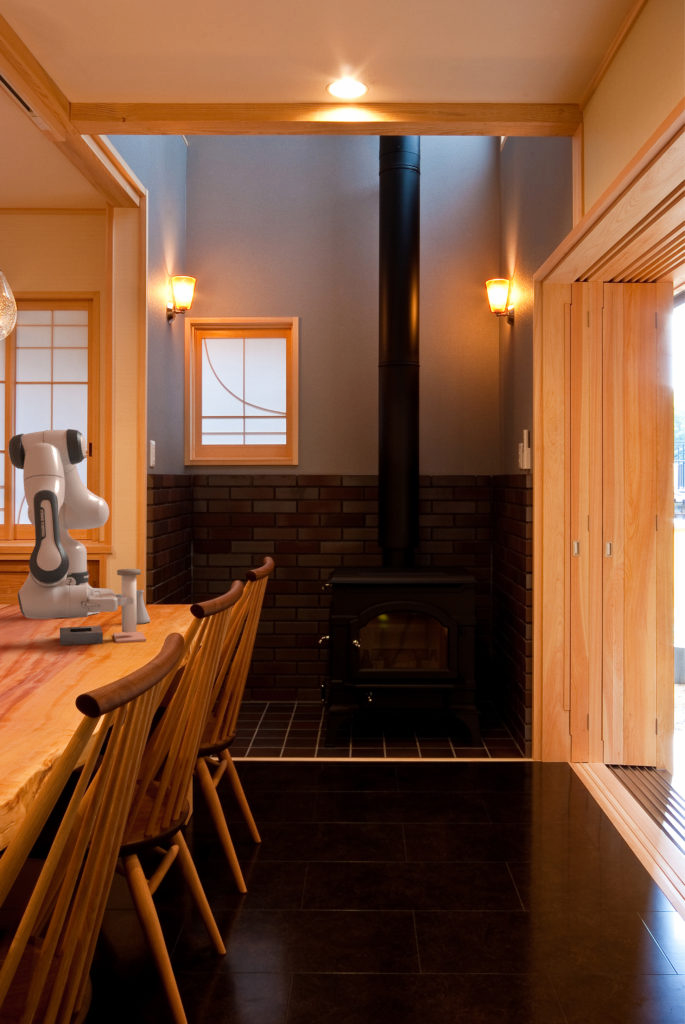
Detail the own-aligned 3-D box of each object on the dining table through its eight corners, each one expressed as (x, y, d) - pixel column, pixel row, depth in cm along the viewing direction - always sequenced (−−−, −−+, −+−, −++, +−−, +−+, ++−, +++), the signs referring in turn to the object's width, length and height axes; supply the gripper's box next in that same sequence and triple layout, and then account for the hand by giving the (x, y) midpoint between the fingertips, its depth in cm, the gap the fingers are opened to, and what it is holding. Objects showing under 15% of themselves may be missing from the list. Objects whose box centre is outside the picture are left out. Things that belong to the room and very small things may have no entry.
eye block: (59, 638, 243) (59, 627, 243) (100, 636, 247) (100, 625, 247) (60, 645, 233) (60, 634, 233) (102, 643, 236) (102, 632, 236)
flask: (145, 624, 266) (144, 592, 266) (122, 624, 267) (122, 591, 267) (154, 621, 273) (154, 589, 273) (132, 620, 274) (132, 588, 274)
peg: (116, 629, 246) (116, 569, 245) (139, 628, 248) (139, 568, 247) (118, 633, 240) (118, 571, 239) (142, 632, 242) (141, 570, 241)
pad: (113, 635, 248) (113, 633, 248) (141, 633, 251) (141, 631, 251) (116, 642, 237) (116, 640, 237) (146, 641, 239) (146, 639, 239)
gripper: (81, 594, 229) (135, 592, 234) (79, 585, 249) (129, 583, 253) (82, 618, 230) (135, 616, 234) (79, 607, 249) (129, 605, 253)
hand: (132, 599), depth 244 cm, fingers closed on peg, 4 cm apart
